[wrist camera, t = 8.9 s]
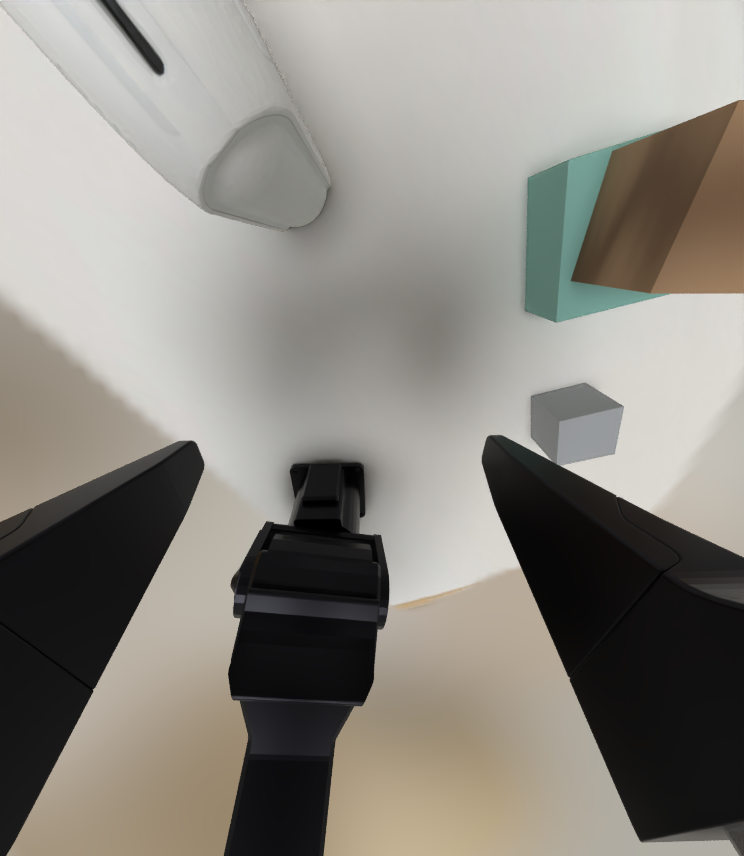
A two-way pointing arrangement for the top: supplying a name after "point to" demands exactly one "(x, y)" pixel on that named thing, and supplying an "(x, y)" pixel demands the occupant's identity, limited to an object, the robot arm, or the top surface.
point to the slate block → (575, 423)
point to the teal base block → (567, 240)
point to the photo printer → (189, 99)
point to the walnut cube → (672, 211)
